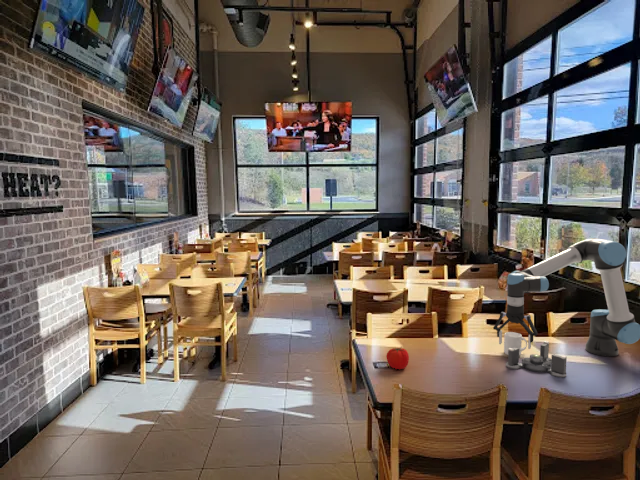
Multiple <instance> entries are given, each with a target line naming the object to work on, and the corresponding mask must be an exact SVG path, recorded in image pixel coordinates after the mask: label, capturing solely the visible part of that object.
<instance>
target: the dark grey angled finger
mask: <svg viewBox="0 0 640 480" xmlns="http://www.w3.org/2000/svg"><path fill="white" fill-rule="evenodd" d="M507 362H508V365H511V366H512V365H514V364H517V363H520V355H519V348H513V349H512V348H508V355H507Z"/></svg>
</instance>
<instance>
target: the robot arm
mask: <svg viewBox="0 0 640 480" xmlns="http://www.w3.org/2000/svg"><path fill="white" fill-rule="evenodd" d="M626 258H627V250H626V248H625V246H624V245H623V244H621V243H620V242H617V241H615V240H612V239H603V238H595V237H592V238H587V239H584V240H581V241H578V242H576V243H574V244H572V245H570V246H568V247H567V249H566V250H563V251H561V252H559V253H556V254H555V255H553V256H551V257H548V258H546V259H544V260H542V261H540V262H538V263H536V264H534V265H531V266H529V267H527V268H525V269H523V270H514V271H511V273H509V274H508V275H507V280H506V284H507V285H506V286H507V287H506V288H507V289H506V290H507V291H506V294H507V295H506V297H507V298H506V300H507V301H506V302H507V303H506V312H504V311H501V312H500V314H499V317H498V319H497V321H496V322H495V324H494V325H493V327H492V328H493V330H495V331H496V337H497V338H498V344H499V345H501V344H502V343H503V330H502V329H503V328H505V326H507V324H508V323H512V324H516V325H517V324H520V326H522V327H523V329H524V330H525V331H526V332H527V333H528V337H527V338H528V341H527V350H530V349H531V348H532V343H533V342H534V336H537V335H538V333H539V332H538V331H537V329H536V327H535V325H534V323H533V321H532V316H531V315H530V314H528V315H525V314H524V312H525V310H524V309H525V307H524V304H525V302H524V301H525V293H542V292H546V291H547V290H549V287H550V283H549V280H548V278H547V277H546V276H548V275H550V274H552V273H555V272H557V271H560V270H562V269H563V268H566V267H568V266H570V265H573V264H574V263H582V262H584V261H585V262H586V261H592V262H593V263H594V267H595V269H596V270H598V271H599V272H600V277H601V278H600V279H601V283H602V287H603V290H604V296H605V301H606V305H607V309H600V308H599V309H593V310H592V311H591V312H590V319H589V320H590V326H589V337H588V339H587V341H586V342H585V345H584V348H585V351H587V352H589V353H590V354H593V355H597V356H601V357H616V356H618V355H619V348H618V347H619V346H618V344H617V342H619V343H623V344H626V345H631V344H635V343H637V342H638V341H639V340H640V324H639V323H637V322H636V319H635V315H634V314H633V313H632V312H630V309H629V308H630V307H629V304H628V299H627V294H626V291H625V285H624V280H623V277H622V275H623V274H622V272H621V268H622V267H623V265H624V264H623V263H624V262H625V261H626V260H625V259H626ZM505 317H506V318H507V320H505V321H504V322H503V323H502V324H501V325H500V323H501V321H502V320H503V318H505ZM524 319H525V320H526V321H527V324H528V325H529V326H528V325H527V324H526V322H525V320H524Z"/></svg>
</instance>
